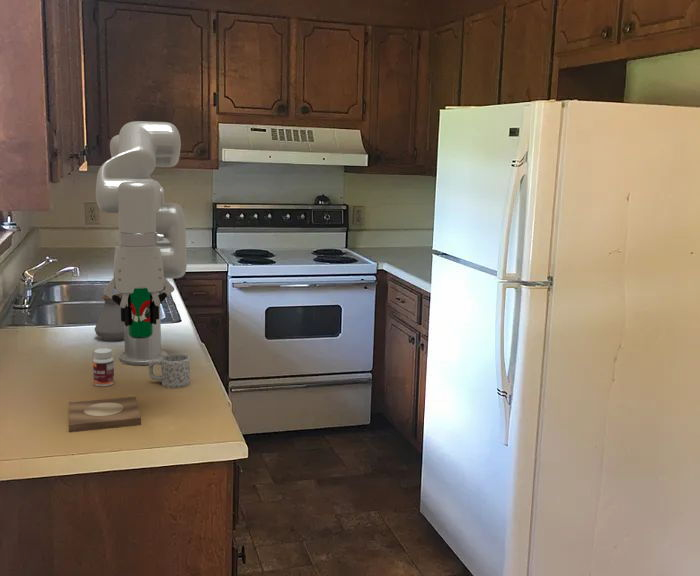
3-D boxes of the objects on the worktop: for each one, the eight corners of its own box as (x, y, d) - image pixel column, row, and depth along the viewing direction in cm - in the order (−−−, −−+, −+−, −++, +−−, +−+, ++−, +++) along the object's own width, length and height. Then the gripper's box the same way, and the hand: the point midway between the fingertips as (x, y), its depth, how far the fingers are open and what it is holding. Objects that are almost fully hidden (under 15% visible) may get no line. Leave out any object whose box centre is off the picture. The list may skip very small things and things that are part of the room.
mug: (193, 380, 185) (192, 354, 183) (185, 388, 178) (185, 362, 177) (153, 378, 185) (153, 352, 184) (144, 387, 179) (143, 360, 177)
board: (69, 408, 163) (68, 401, 162) (135, 402, 167) (135, 395, 167) (69, 432, 150) (69, 424, 149) (141, 424, 155) (140, 416, 154)
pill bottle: (89, 385, 179) (88, 351, 177) (102, 379, 183) (101, 347, 181) (105, 388, 177) (104, 354, 175) (118, 382, 181) (117, 349, 180)
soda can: (155, 333, 163) (153, 279, 161) (150, 339, 158) (148, 284, 156) (131, 333, 163) (130, 279, 161) (126, 339, 158) (124, 283, 156)
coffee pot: (94, 343, 215) (92, 293, 213) (95, 334, 226) (93, 285, 223) (169, 340, 222) (168, 290, 219) (167, 330, 232) (166, 283, 230)
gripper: (175, 237, 164) (177, 317, 167) (94, 239, 157) (97, 322, 160) (181, 241, 157) (183, 325, 160) (96, 243, 150) (100, 330, 154)
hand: (140, 322), depth 160 cm, fingers closed on soda can, 5 cm apart
